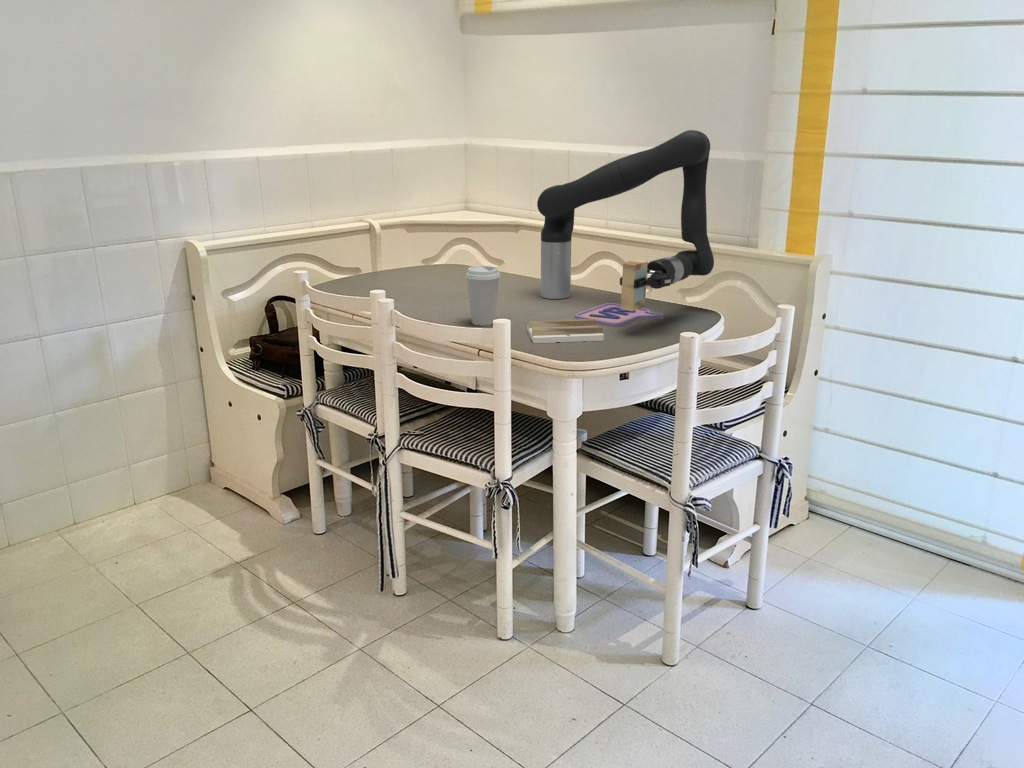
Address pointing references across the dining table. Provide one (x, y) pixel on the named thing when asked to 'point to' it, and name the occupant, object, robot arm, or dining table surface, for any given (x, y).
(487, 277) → the coffee cup
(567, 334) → the ledge
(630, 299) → the wooden block
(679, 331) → the dining table surface
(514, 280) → the dining table surface
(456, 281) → the dining table surface
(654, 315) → the icon
